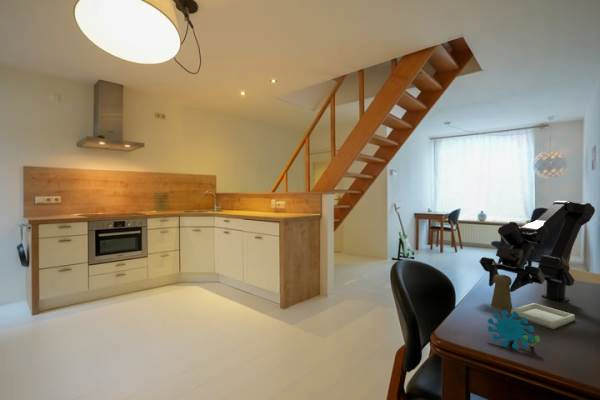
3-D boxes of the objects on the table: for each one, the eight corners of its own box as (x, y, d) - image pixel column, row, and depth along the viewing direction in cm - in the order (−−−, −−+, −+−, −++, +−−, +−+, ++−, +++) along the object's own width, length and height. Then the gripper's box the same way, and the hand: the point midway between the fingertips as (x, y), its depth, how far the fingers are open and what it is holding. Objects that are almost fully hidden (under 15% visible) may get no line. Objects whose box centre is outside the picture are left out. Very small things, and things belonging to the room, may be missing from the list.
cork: (515, 310, 98) (516, 278, 98) (495, 309, 99) (496, 276, 99) (506, 304, 104) (508, 273, 104) (488, 302, 105) (489, 272, 105)
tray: (533, 308, 101) (533, 302, 101) (574, 320, 91) (574, 314, 91) (511, 315, 94) (511, 309, 94) (552, 329, 85) (553, 323, 85)
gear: (480, 334, 77) (494, 302, 81) (483, 343, 80) (496, 313, 84) (532, 358, 69) (545, 321, 73) (533, 367, 72) (545, 332, 76)
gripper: (483, 235, 111) (464, 267, 106) (541, 243, 95) (522, 281, 90) (494, 254, 115) (476, 286, 110) (552, 265, 99) (534, 302, 94)
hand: (499, 288), depth 101 cm, fingers open, 6 cm apart
